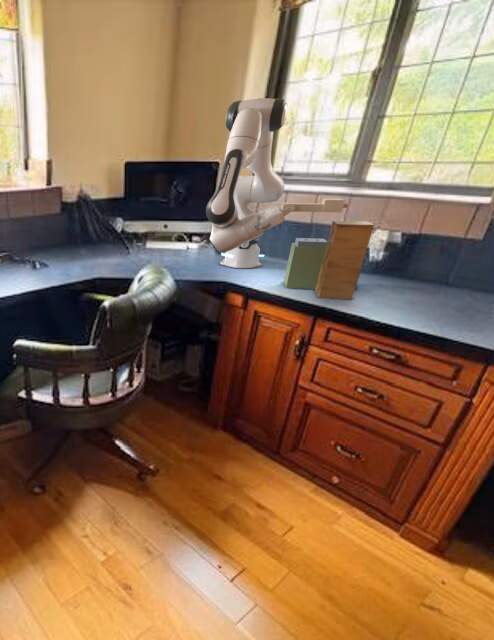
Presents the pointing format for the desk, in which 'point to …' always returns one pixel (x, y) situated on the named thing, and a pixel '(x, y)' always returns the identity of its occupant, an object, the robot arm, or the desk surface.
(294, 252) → the green upright rectangular block
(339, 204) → the beige stepped bar
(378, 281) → the desk surface
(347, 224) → the oak stand
